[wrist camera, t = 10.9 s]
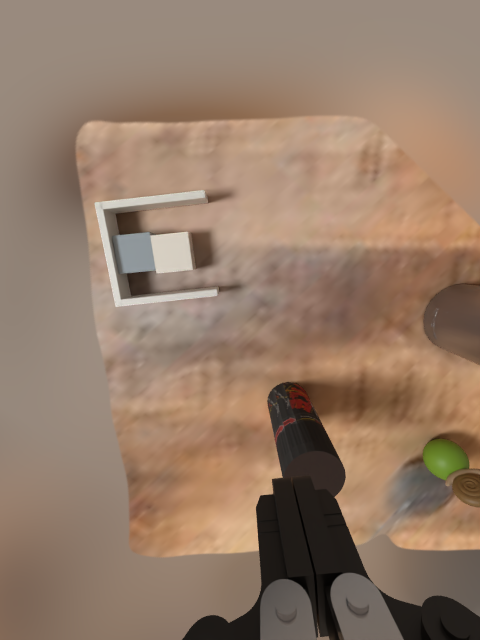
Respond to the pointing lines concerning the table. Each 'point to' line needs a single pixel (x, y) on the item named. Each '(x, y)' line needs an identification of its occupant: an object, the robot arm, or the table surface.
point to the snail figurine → (453, 469)
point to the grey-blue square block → (134, 252)
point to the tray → (110, 228)
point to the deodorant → (303, 439)
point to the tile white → (173, 252)
